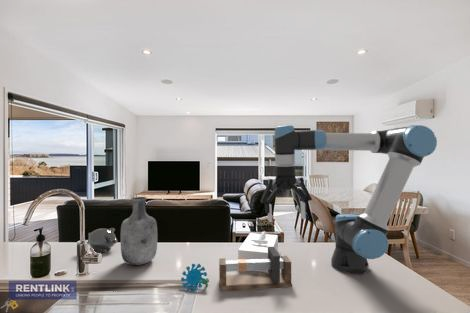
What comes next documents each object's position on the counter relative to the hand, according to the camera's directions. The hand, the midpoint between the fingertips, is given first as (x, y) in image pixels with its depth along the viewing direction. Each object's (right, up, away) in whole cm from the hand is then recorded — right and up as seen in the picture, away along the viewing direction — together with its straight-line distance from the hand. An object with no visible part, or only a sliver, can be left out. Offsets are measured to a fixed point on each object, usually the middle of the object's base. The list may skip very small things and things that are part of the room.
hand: (286, 220), depth 104 cm
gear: (-35, -25, -3) cm, 43 cm away
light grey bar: (-13, -19, 0) cm, 23 cm away
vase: (-65, -25, +19) cm, 72 cm away
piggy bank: (-89, -24, +34) cm, 98 cm away
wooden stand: (-13, -24, 0) cm, 27 cm away
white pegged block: (-9, -25, +22) cm, 34 cm away
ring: (-5, -22, 0) cm, 23 cm away
